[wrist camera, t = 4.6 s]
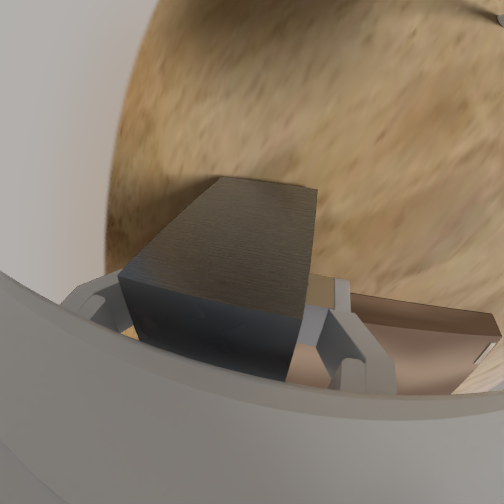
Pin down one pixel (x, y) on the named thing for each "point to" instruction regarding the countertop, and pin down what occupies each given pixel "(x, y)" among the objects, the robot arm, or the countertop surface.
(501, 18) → the lollipop
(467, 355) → the board
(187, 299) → the upright grey metal block
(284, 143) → the countertop surface
